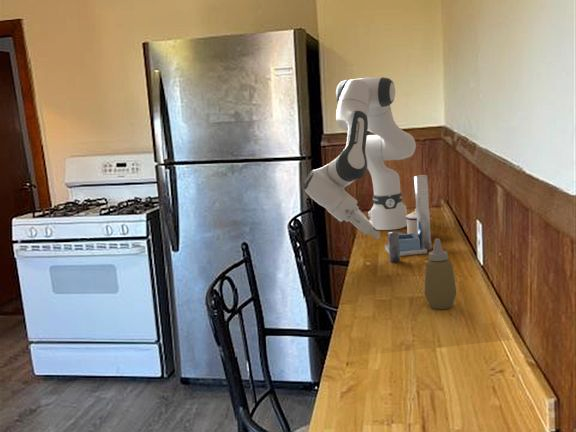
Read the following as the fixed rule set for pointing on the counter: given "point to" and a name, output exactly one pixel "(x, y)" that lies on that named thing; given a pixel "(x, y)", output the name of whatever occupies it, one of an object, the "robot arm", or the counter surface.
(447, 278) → the squeeze bottle
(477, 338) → the counter surface
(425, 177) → the box with upright lever
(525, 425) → the counter surface
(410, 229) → the teacup with lid
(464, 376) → the counter surface
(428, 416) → the counter surface
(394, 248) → the dark grey rounded rod
